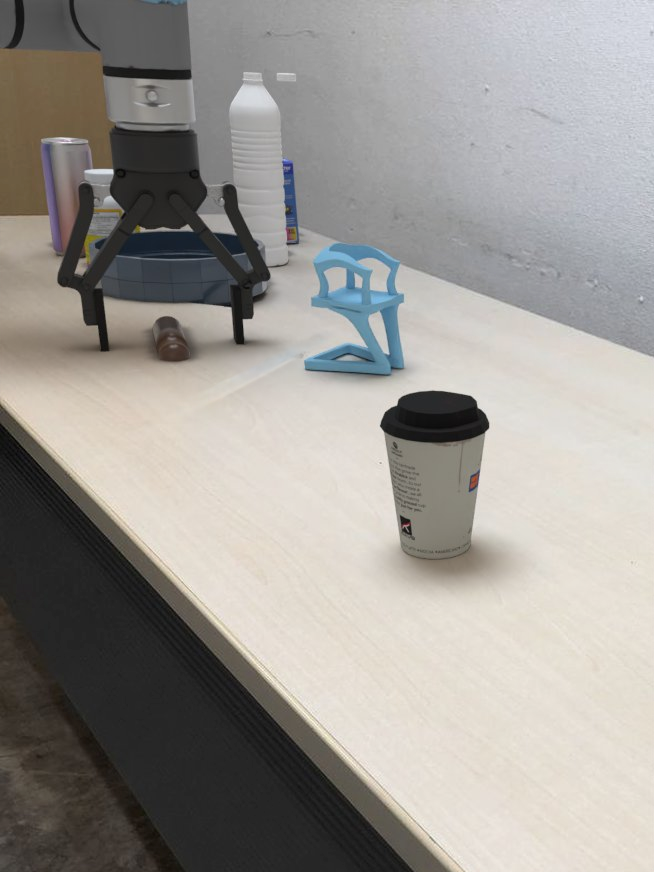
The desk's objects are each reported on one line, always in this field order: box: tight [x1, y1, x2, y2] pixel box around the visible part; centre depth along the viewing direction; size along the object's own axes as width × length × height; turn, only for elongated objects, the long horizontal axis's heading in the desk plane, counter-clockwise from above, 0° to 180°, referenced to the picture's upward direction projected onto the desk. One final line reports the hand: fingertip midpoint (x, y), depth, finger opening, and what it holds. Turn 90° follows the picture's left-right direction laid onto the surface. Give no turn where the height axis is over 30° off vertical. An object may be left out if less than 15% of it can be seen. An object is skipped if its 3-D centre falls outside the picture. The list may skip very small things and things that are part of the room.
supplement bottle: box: [79, 168, 141, 268], centre depth 141 cm, size 7×7×13 cm
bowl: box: [88, 229, 268, 307], centre depth 135 cm, size 19×19×6 cm
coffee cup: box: [379, 390, 490, 560], centre depth 73 cm, size 7×7×10 cm
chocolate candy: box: [152, 315, 191, 363], centre depth 111 cm, size 13×3×3 cm, turn 25°
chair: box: [303, 242, 405, 375], centre depth 110 cm, size 8×8×12 cm
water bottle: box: [228, 71, 297, 268], centre depth 151 cm, size 9×6×25 cm
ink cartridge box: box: [282, 157, 300, 245], centre depth 169 cm, size 10×6×14 cm, turn 40°
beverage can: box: [40, 137, 94, 258], centre depth 151 cm, size 6×6×15 cm
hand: (174, 354), depth 111 cm, fingers open, 12 cm apart
